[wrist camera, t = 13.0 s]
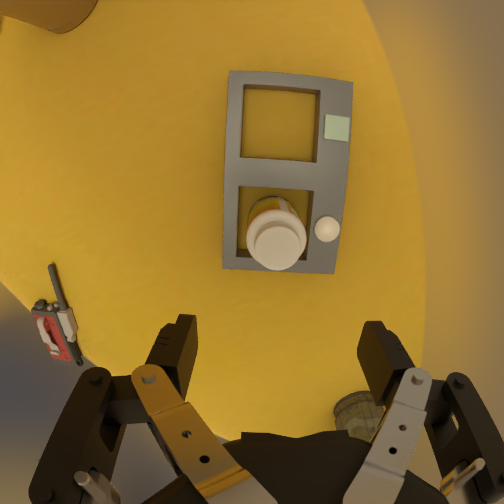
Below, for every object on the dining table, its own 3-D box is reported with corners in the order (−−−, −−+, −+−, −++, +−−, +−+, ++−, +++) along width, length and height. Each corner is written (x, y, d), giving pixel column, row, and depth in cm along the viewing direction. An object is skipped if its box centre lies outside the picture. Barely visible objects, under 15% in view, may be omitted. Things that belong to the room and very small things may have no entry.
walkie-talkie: (94, 362, 44) (59, 261, 37) (85, 378, 40) (43, 272, 33) (60, 356, 44) (25, 261, 37) (50, 370, 40) (9, 272, 33)
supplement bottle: (241, 230, 34) (234, 265, 25) (259, 187, 33) (259, 206, 23) (284, 248, 35) (293, 287, 25) (304, 206, 33) (322, 232, 24)
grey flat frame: (231, 76, 28) (228, 69, 25) (346, 86, 28) (354, 81, 25) (224, 260, 36) (221, 270, 33) (329, 265, 36) (334, 276, 33)
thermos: (391, 399, 45) (443, 554, 13) (340, 427, 48) (367, 580, 16) (374, 378, 43) (433, 560, 10) (317, 410, 46) (341, 587, 13)
